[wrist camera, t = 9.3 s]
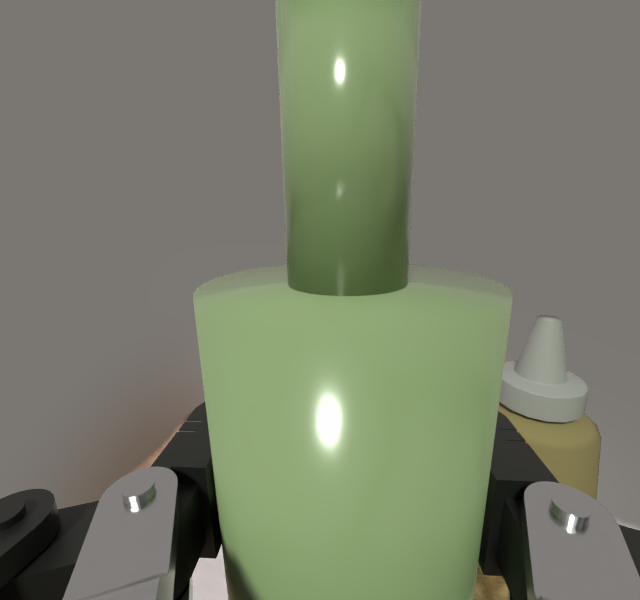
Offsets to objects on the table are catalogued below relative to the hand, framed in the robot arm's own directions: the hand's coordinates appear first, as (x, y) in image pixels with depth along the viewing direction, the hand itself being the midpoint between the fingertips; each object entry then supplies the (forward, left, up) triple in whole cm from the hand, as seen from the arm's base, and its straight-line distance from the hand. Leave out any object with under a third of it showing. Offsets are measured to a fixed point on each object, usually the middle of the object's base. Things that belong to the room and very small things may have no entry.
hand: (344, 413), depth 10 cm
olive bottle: (0, +3, -11) cm, 12 cm away
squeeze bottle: (-12, -10, -19) cm, 24 cm away
